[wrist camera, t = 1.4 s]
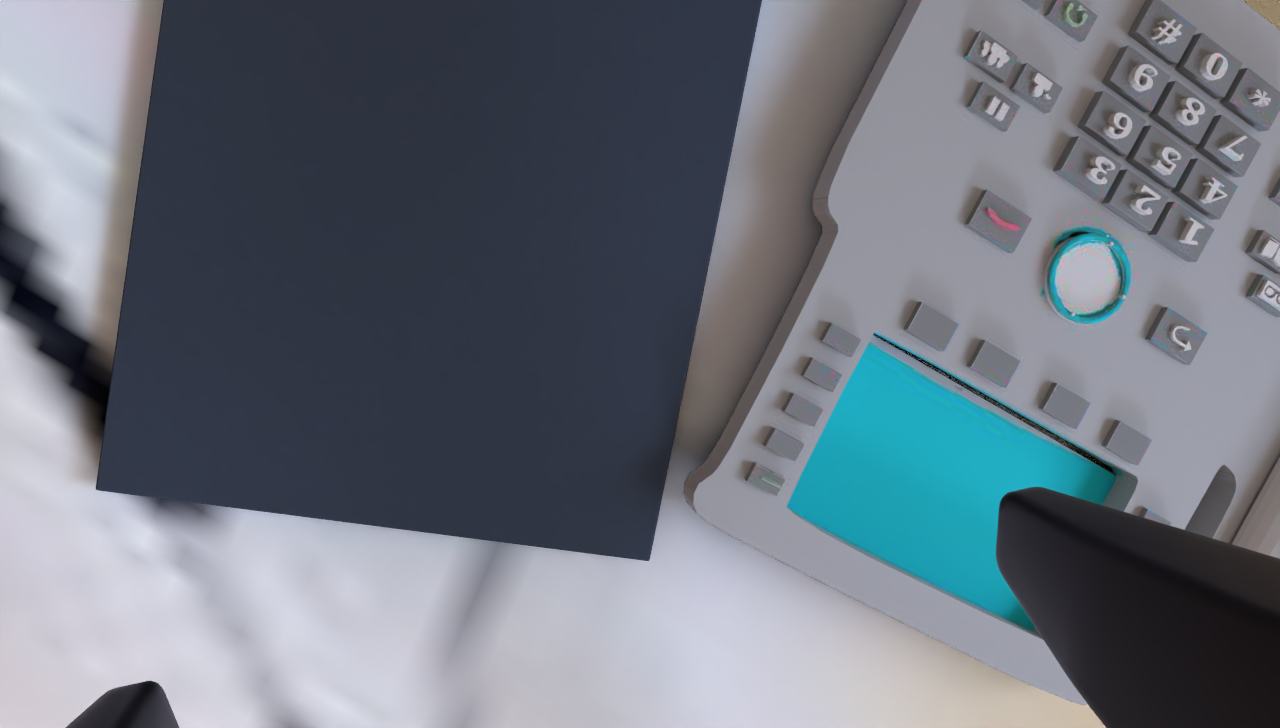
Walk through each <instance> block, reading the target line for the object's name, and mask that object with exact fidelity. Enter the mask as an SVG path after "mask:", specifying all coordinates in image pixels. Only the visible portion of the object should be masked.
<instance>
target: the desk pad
mask: <svg viewBox="0 0 1280 728" xmlns="http://www.w3.org/2000/svg"><path fill="white" fill-rule="evenodd" d="M761 2H762V0H164V3H163V10H162V17H161V24H160V32H159V39H158V46H157V53H156V60H155V67H154V75H153V82H152V89H151V96H150V103H149V111H148V118H147V125H146V132H145V139H144V146H143V154H142V161H141V168H140V175H139V182H138V190H137V197H136V204H135V211H134V218H133V225H132V233H131V240H130V247H129V254H128V261H127V268H126V276H125V283H124V290H123V297H122V304H121V312H120V319H119V326H118V333H117V340H116V347H115V355H114V362H113V369H112V376H111V383H110V391H109V398H108V405H107V412H106V419H105V426H104V434H103V441H102V448H101V455H100V462H99V469H98V477H97V484H96V490H100V491H108V492H116V493H123V494H131V495H139V496H147V497H154V498H162V499H170V500H178V501H186V502H193V503H201V504H209V505H217V506H225V507H232V508H240V509H248V510H256V511H264V512H271V513H279V514H287V515H295V516H303V517H310V518H318V519H326V520H334V521H341V522H349V523H357V524H365V525H373V526H380V527H388V528H396V529H404V530H412V531H419V532H427V533H435V534H443V535H451V536H458V537H466V538H474V539H482V540H489V541H497V542H505V543H513V544H521V545H528V546H536V547H544V548H552V549H560V550H567V551H575V552H583V553H591V554H599V555H606V556H614V557H622V558H630V559H638V560H645V561H649V559H650V555H651V550H652V545H653V540H654V535H655V530H656V525H657V520H658V515H659V510H660V505H661V500H662V495H663V490H664V485H665V480H666V475H667V470H668V465H669V460H670V455H671V450H672V445H673V440H674V435H675V430H676V425H677V420H678V415H679V410H680V405H681V400H682V395H683V390H684V385H685V380H686V375H687V370H688V365H689V360H690V355H691V350H692V345H693V340H694V336H695V331H696V326H697V321H698V316H699V311H700V306H701V301H702V296H703V291H704V286H705V281H706V276H707V271H708V266H709V261H710V256H711V251H712V246H713V241H714V236H715V231H716V226H717V221H718V216H719V211H720V206H721V201H722V196H723V191H724V186H725V181H726V176H727V171H728V166H729V161H730V156H731V151H732V146H733V141H734V136H735V131H736V126H737V121H738V116H739V111H740V106H741V101H742V96H743V91H744V86H745V81H746V76H747V71H748V66H749V61H750V56H751V52H752V47H753V42H754V37H755V32H756V27H757V22H758V17H759V12H760V7H761Z"/></svg>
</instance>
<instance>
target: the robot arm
mask: <svg viewBox="0 0 1280 728" xmlns="http://www.w3.org/2000/svg"><path fill="white" fill-rule="evenodd" d="M996 560H997V564H998V568H999V570H1000V572H1001V574H1002V576H1003V578H1004V580H1005V581H1006V583H1007V584H1008V586H1009V587H1010V589H1011V590H1012V592H1013V593H1014V595H1015V597H1016V598H1017V600H1018V601H1019V603H1020V604H1021V606H1022V607H1023V609H1024V610H1025V612H1026V614H1027V615H1028V617H1029V618H1030V620H1031V621H1032V623H1033V624H1034V626H1035V627H1036V629H1037V631H1038V632H1039V634H1040V635H1041V637H1042V638H1043V640H1044V641H1045V643H1046V645H1047V646H1048V648H1049V649H1050V651H1051V652H1052V654H1053V655H1054V657H1055V658H1056V660H1057V662H1058V663H1059V665H1060V666H1061V668H1062V669H1063V671H1064V672H1065V674H1066V675H1067V676H1068V678H1069V679H1070V681H1071V682H1072V684H1073V685H1074V687H1075V688H1076V689H1077V691H1078V692H1079V693H1080V695H1081V696H1082V697H1083V698H1084V700H1085V701H1086V702H1087V704H1088V705H1089V706H1090V708H1091V709H1092V710H1093V711H1094V713H1095V714H1096V715H1097V716H1098V718H1099V719H1100V720H1101V722H1102V723H1103V724H1104V725H1105V727H1106V728H1280V559H1279V558H1276V557H1273V556H1269V555H1266V554H1263V553H1259V552H1256V551H1253V550H1249V549H1246V548H1243V547H1240V546H1236V545H1233V544H1230V543H1226V542H1223V541H1220V540H1216V539H1213V538H1210V537H1206V536H1203V535H1200V534H1196V533H1193V532H1190V531H1186V530H1183V529H1180V528H1176V527H1173V526H1170V525H1166V524H1163V523H1160V522H1156V521H1153V520H1150V519H1147V518H1143V517H1140V516H1137V515H1133V514H1130V513H1127V512H1123V511H1120V510H1117V509H1113V508H1110V507H1107V506H1103V505H1100V504H1097V503H1093V502H1090V501H1087V500H1083V499H1080V498H1077V497H1073V496H1070V495H1067V494H1063V493H1060V492H1057V491H1054V490H1050V489H1047V488H1043V487H1030V488H1026V489H1021V490H1017V491H1012V492H1008V493H1006V494H1005V495H1004V496H1003V497H1002V499H1001V501H1000V505H999V515H998V528H997V542H996ZM66 728H179V726H178V724H177V721H176V719H175V716H174V714H173V711H172V709H171V707H170V704H169V702H168V699H167V697H166V694H165V692H164V690H163V689H162V687H161V686H160V685H159V684H158V683H156V682H153V681H146V682H141V683H137V684H132V685H127V686H123V687H118V688H115V689H112V690H109V691H107V692H106V693H105V694H104V695H102V696H101V697H100V698H99V699H98V700H97V701H95V702H94V703H93V704H92V705H91V706H90V707H89V708H87V709H86V710H85V711H84V712H83V713H82V714H81V715H79V716H78V717H77V718H76V719H75V720H74V721H73V722H71V723H70V724H69V725H68V726H67V727H66Z"/></svg>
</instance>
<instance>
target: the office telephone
mask: <svg viewBox="0 0 1280 728" xmlns="http://www.w3.org/2000/svg"><path fill="white" fill-rule="evenodd" d="M812 208H813V211H814V215H815V216H816V218H817V219H818V221H819V222H820V224H821V225H822V234H821V237H820V239H819V241H818V244H817V246H816V248H815V251H814V253H813V255H812V258H811V260H810V262H809V265H808V267H807V269H806V271H805V273H804V275H803V277H802V279H801V281H800V283H799V285H798V287H797V289H796V291H795V293H794V295H793V297H792V299H791V301H790V303H789V305H788V307H787V309H786V311H785V313H784V315H783V317H782V319H781V321H780V323H779V325H778V327H777V329H776V331H775V333H774V335H773V337H772V339H771V341H770V343H769V345H768V347H767V349H766V351H765V353H764V355H763V357H762V359H761V361H760V363H759V364H758V366H757V368H756V370H755V372H754V374H753V376H752V378H751V380H750V382H749V383H748V385H747V387H746V389H745V391H744V393H743V395H742V397H741V399H740V401H739V403H738V404H737V406H736V408H735V410H734V412H733V414H732V416H731V418H730V420H729V422H728V424H727V425H726V427H725V429H724V431H723V433H722V435H721V437H720V439H719V441H718V442H717V444H716V445H715V447H714V448H713V450H712V452H711V453H710V455H709V456H708V458H707V460H706V461H705V462H704V463H703V464H702V465H700V466H699V467H698V468H696V469H695V470H693V471H692V472H690V473H689V475H688V477H687V479H686V480H685V483H684V495H685V498H686V501H687V503H688V504H689V505H690V506H691V508H692V509H693V510H694V511H695V512H696V513H697V514H698V515H699V516H700V517H701V518H702V519H704V520H705V521H706V522H707V523H709V524H711V525H713V526H714V527H716V528H718V529H720V530H721V531H723V532H725V533H727V534H728V535H730V536H732V537H733V538H735V539H737V540H739V541H741V542H743V543H745V544H747V545H749V546H751V547H753V548H755V549H757V550H759V551H761V552H763V553H765V554H767V555H769V556H771V557H773V558H775V559H777V560H779V561H781V562H782V563H784V564H786V565H788V566H790V567H792V568H794V569H796V570H798V571H800V572H802V573H804V574H806V575H808V576H810V577H812V578H814V579H816V580H818V581H820V582H822V583H824V584H826V585H828V586H830V587H831V588H833V589H835V590H837V591H839V592H841V593H843V594H845V595H847V596H849V597H851V598H853V599H855V600H857V601H859V602H861V603H863V604H865V605H867V606H869V607H871V608H873V609H875V610H877V611H879V612H881V613H883V614H885V615H887V616H889V617H891V618H893V619H895V620H897V621H899V622H901V623H903V624H905V625H907V626H909V627H912V628H914V629H916V630H918V631H920V632H922V633H924V634H926V635H928V636H930V637H932V638H934V639H936V640H938V641H940V642H942V643H944V644H946V645H948V646H950V647H952V648H954V649H956V650H958V651H960V652H962V653H964V654H967V655H969V656H971V657H973V658H975V659H977V660H979V661H981V662H983V663H985V664H987V665H989V666H991V667H993V668H995V669H997V670H999V671H1001V672H1003V673H1005V674H1007V675H1009V676H1011V677H1013V678H1015V679H1018V680H1020V681H1022V682H1025V683H1027V684H1030V685H1032V686H1035V687H1037V688H1039V689H1042V690H1044V691H1047V692H1049V693H1051V694H1054V695H1056V696H1059V697H1061V698H1063V699H1066V700H1068V701H1071V702H1074V703H1077V704H1081V705H1087V702H1086V701H1085V700H1084V698H1083V697H1082V696H1081V695H1080V693H1079V692H1078V691H1077V689H1076V688H1075V687H1074V685H1073V684H1072V682H1071V681H1070V679H1069V678H1068V676H1067V675H1066V674H1065V672H1064V671H1063V669H1062V668H1061V666H1060V665H1059V663H1058V662H1057V660H1056V658H1055V657H1054V655H1053V654H1052V652H1051V651H1050V649H1049V648H1048V646H1047V645H1046V643H1045V641H1044V640H1043V638H1042V637H1041V635H1040V634H1039V632H1038V631H1037V629H1036V627H1035V626H1034V624H1033V623H1032V621H1031V620H1030V618H1029V617H1028V615H1027V614H1026V612H1025V610H1024V609H1023V607H1022V606H1021V604H1020V603H1019V601H1018V600H1017V598H1016V597H1015V595H1014V593H1013V592H1012V590H1011V589H1010V587H1009V586H1008V584H1007V583H1006V581H1005V580H1004V578H1003V576H1002V574H1001V572H1000V570H999V568H998V564H997V560H996V542H997V528H998V515H999V505H1000V501H1001V499H1002V497H1003V496H1004V495H1005V494H1006V493H1008V492H1012V491H1017V490H1021V489H1026V488H1030V487H1043V488H1047V489H1050V490H1054V491H1057V492H1060V493H1063V494H1067V495H1070V496H1073V497H1077V498H1080V499H1083V500H1087V501H1090V502H1093V503H1097V504H1100V505H1103V506H1107V507H1110V508H1113V509H1117V510H1120V511H1123V512H1127V513H1130V514H1133V515H1137V516H1140V517H1143V518H1147V519H1150V520H1153V521H1156V522H1160V523H1163V524H1166V525H1170V526H1173V527H1176V528H1180V529H1183V530H1186V531H1190V532H1193V533H1196V534H1200V535H1203V536H1206V537H1210V538H1213V539H1216V540H1220V541H1223V542H1226V543H1230V544H1233V545H1236V546H1240V547H1243V548H1246V549H1249V550H1253V551H1256V552H1259V553H1263V554H1266V555H1269V556H1273V557H1276V558H1279V559H1280V30H1279V29H1278V28H1277V27H1276V26H1274V25H1273V24H1272V23H1271V22H1269V21H1268V20H1267V19H1265V18H1264V17H1263V16H1262V15H1260V14H1259V13H1258V12H1257V11H1255V10H1254V9H1253V8H1252V7H1250V6H1249V5H1248V4H1247V3H1245V2H1244V1H1243V0H907V2H906V4H905V6H904V8H903V10H902V12H901V14H900V16H899V18H898V20H897V22H896V24H895V26H894V28H893V30H892V32H891V34H890V36H889V38H888V40H887V42H886V44H885V46H884V48H883V49H882V51H881V53H880V55H879V57H878V59H877V61H876V63H875V65H874V67H873V69H872V71H871V73H870V75H869V77H868V79H867V81H866V83H865V85H864V87H863V89H862V91H861V93H860V95H859V97H858V99H857V100H856V102H855V104H854V106H853V108H852V110H851V112H850V114H849V116H848V118H847V120H846V122H845V124H844V126H843V128H842V130H841V132H840V134H839V136H838V138H837V140H836V142H835V144H834V146H833V148H832V150H831V152H830V154H829V156H828V159H827V161H826V164H825V166H824V168H823V171H822V173H821V176H820V178H819V180H818V183H817V185H816V188H815V191H814V196H813V205H812ZM1070 235H1072V236H1070ZM873 334H875V335H876V336H878V337H880V338H882V339H884V340H886V341H888V342H890V343H892V344H894V345H895V346H897V347H899V348H901V349H903V350H905V351H907V352H909V353H911V354H913V355H914V356H916V357H918V358H920V359H922V360H924V361H926V362H928V363H929V364H931V365H933V366H935V367H936V368H938V369H940V370H942V371H943V372H945V373H947V374H949V375H951V376H952V377H954V378H956V379H958V380H959V381H961V382H963V383H965V384H967V385H968V386H970V387H972V388H974V389H975V390H977V391H979V392H981V393H982V394H984V395H986V396H988V397H990V398H991V399H993V400H995V401H997V402H998V403H1000V404H1002V405H1004V406H1005V407H1007V408H1009V409H1011V410H1013V411H1014V412H1016V413H1018V414H1020V415H1021V416H1023V417H1025V418H1027V419H1028V420H1030V421H1032V422H1034V423H1036V424H1037V425H1039V426H1041V427H1043V428H1044V429H1046V430H1048V431H1050V432H1051V433H1053V434H1055V435H1057V436H1059V437H1060V438H1062V439H1064V440H1066V441H1067V442H1069V443H1071V444H1073V445H1074V446H1076V447H1078V448H1079V449H1081V450H1083V451H1084V452H1086V453H1088V454H1089V455H1091V456H1092V457H1094V458H1096V459H1097V460H1099V461H1101V462H1102V463H1104V464H1106V465H1107V466H1109V467H1111V469H1112V473H1111V472H1109V471H1107V470H1106V469H1104V468H1102V467H1100V466H1099V465H1097V464H1095V463H1094V462H1092V461H1090V460H1088V459H1087V458H1085V457H1083V456H1081V455H1080V454H1078V453H1076V452H1075V451H1073V450H1071V449H1069V448H1068V447H1066V446H1064V445H1062V444H1061V443H1059V442H1057V441H1056V440H1054V439H1052V438H1050V437H1049V436H1047V435H1045V434H1043V433H1042V432H1040V431H1038V430H1037V429H1035V428H1033V427H1031V426H1030V425H1028V424H1026V423H1024V422H1023V421H1021V420H1019V419H1018V418H1016V417H1014V416H1012V415H1011V414H1009V413H1007V412H1005V411H1004V410H1002V409H1000V408H998V407H997V406H995V405H993V404H992V403H990V402H988V401H986V400H985V399H983V398H981V397H979V396H978V395H976V394H974V393H973V392H971V391H969V390H967V389H966V388H964V387H962V386H960V385H959V384H957V383H955V382H954V381H952V380H950V379H948V378H947V377H945V376H943V375H941V374H940V373H938V372H936V371H935V370H933V369H931V368H929V367H928V366H926V365H924V364H922V363H921V362H919V361H917V360H915V359H914V358H912V357H910V356H909V355H907V354H905V353H903V352H902V351H900V350H898V349H896V348H895V347H893V346H891V345H890V344H888V343H886V342H884V341H883V340H881V339H879V338H877V337H876V336H874V335H873Z"/></svg>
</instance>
